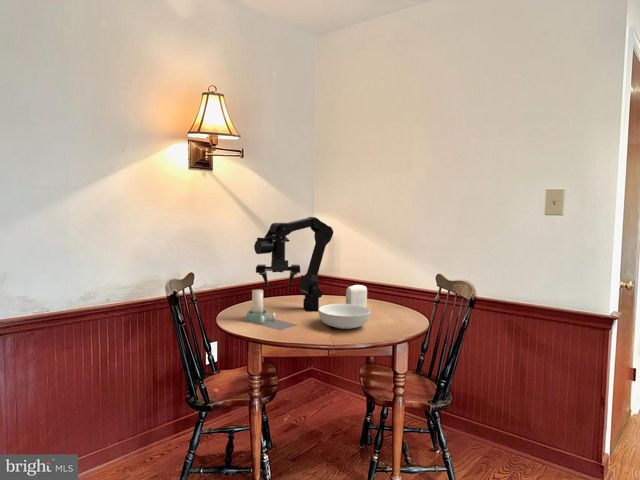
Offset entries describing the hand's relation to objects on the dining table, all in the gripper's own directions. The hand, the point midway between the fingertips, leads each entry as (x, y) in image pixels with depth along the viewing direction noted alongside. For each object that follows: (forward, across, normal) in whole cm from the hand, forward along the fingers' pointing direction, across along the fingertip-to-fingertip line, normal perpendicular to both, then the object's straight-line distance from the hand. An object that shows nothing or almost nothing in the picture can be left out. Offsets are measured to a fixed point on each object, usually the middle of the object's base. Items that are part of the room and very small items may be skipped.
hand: (278, 288), depth 190 cm
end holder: (+11, -8, -8) cm, 16 cm away
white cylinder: (+11, -8, -8) cm, 16 cm away
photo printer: (+12, +35, +6) cm, 38 cm away
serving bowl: (+12, +27, -16) cm, 33 cm away
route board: (+12, -4, -12) cm, 17 cm away
